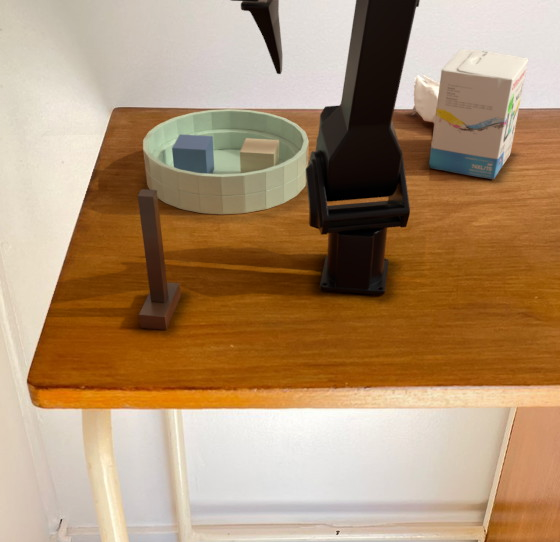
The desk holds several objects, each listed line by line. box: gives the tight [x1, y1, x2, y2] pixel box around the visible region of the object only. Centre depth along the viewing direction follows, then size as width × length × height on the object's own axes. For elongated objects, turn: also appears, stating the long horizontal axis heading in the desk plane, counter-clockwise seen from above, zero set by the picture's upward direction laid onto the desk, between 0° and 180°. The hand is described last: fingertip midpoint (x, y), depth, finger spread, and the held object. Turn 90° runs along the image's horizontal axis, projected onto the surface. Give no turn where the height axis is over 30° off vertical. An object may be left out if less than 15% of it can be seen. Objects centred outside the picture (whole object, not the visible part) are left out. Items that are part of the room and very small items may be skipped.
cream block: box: [240, 138, 279, 173], centre depth 100 cm, size 4×4×4 cm
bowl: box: [142, 108, 310, 215], centre depth 101 cm, size 19×19×5 cm
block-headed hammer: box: [137, 188, 182, 331], centre depth 78 cm, size 6×2×12 cm, turn 172°
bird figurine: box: [411, 74, 440, 124], centre depth 113 cm, size 5×7×10 cm
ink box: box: [428, 48, 529, 180], centre depth 102 cm, size 9×8×12 cm
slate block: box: [172, 134, 214, 174], centre depth 101 cm, size 4×4×4 cm
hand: (322, 75), depth 89 cm, fingers open, 9 cm apart
